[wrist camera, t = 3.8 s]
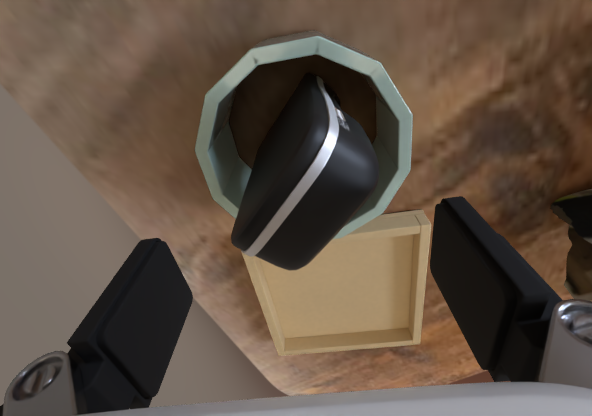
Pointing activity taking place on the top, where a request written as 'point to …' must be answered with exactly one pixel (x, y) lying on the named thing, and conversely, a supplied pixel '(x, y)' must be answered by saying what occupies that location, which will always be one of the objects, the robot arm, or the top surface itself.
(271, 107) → the top surface
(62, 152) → the top surface
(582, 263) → the sculpture
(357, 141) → the battery charger
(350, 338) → the tray
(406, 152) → the pen cup
